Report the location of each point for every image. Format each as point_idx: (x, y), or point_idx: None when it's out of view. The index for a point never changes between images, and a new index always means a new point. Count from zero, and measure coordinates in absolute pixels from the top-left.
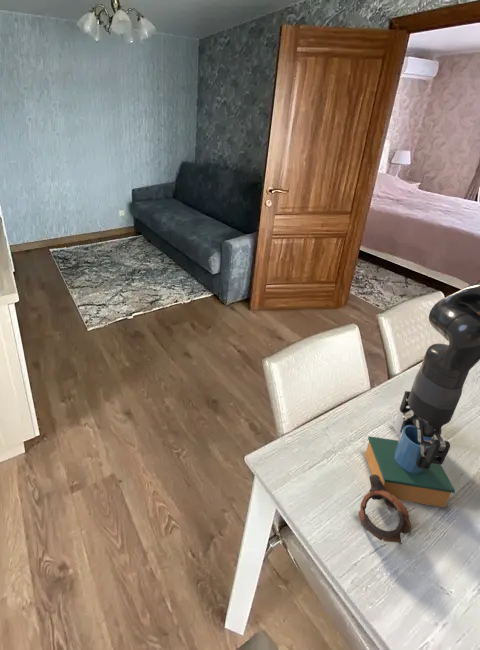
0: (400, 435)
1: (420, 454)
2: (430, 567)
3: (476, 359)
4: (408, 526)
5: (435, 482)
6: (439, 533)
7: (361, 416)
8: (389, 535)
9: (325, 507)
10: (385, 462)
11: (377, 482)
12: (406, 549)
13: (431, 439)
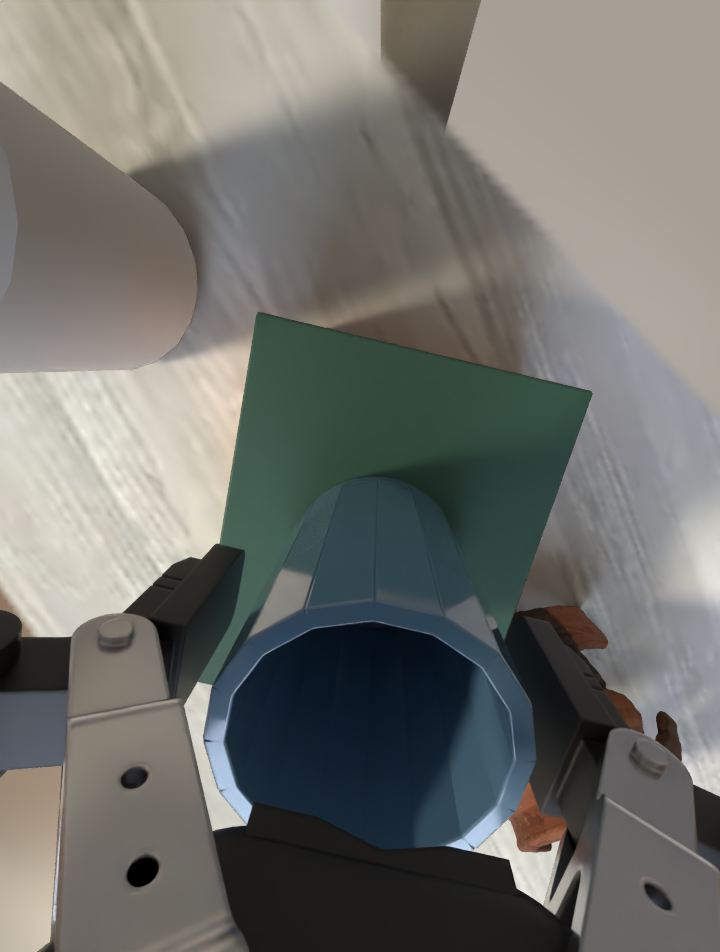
0: (138, 366)
1: (553, 805)
2: (706, 614)
3: None
4: (673, 741)
5: (524, 484)
6: (613, 495)
7: (20, 489)
8: None
9: None
10: None
11: None
12: (635, 659)
13: (427, 630)
